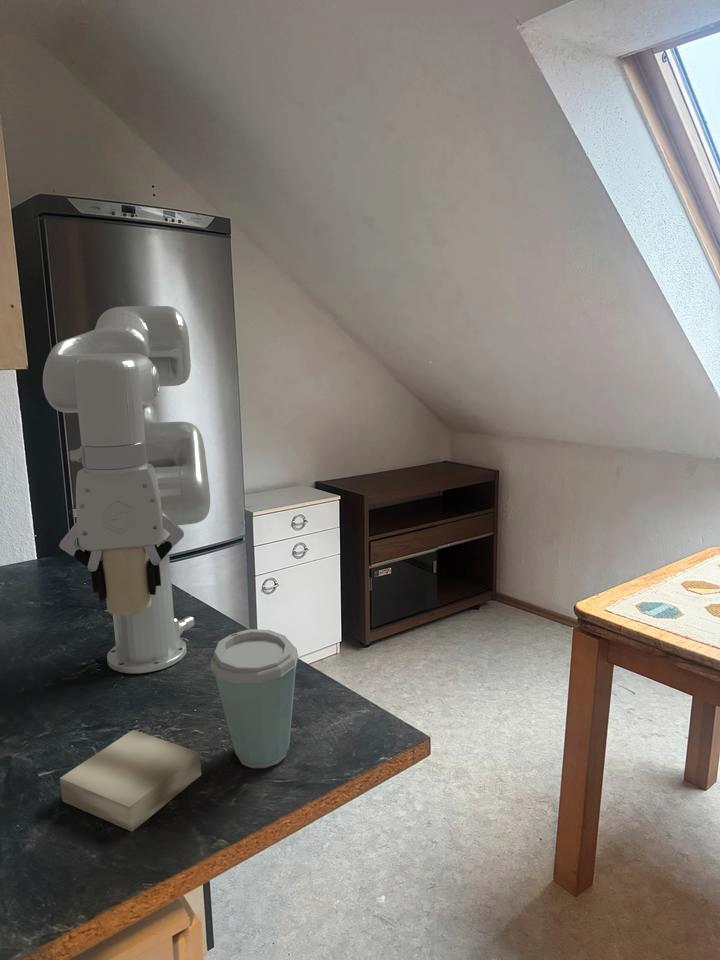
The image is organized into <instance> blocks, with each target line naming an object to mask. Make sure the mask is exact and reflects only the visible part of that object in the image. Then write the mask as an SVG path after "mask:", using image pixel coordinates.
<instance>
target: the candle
mask: <svg viewBox="0 0 720 960" xmlns="http://www.w3.org/2000/svg"><path fill="white" fill-rule="evenodd" d="M101 561H102V564H103V573H104V582H105V592H106V599H105V601H106V609H107V611H108V613H109V614H110V615H112V616H113V615H132V614H137V613H140V612H143V611H145V610H147V609H148V608H150V606H151V594H150V590H149V579H148V568H147V567H148V558H147V553H146V550H145V548H144V547H137V548H123V549H115V550H105V551H102V555H101Z"/></svg>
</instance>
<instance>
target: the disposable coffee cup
mask: <svg viewBox="0 0 720 960" xmlns="http://www.w3.org/2000/svg"><path fill="white" fill-rule="evenodd" d="M298 659H299V653H298V649H297V648H296V646H294V644H293V643H292V642H291V641H290V640H289V638H288V637H286V635H284V634H281V633H279V632H276V631H273V630H271V629H258V628H257V629H256V628H249V629H244V630H241V631H238V632H234V633H231V634H229V635H227V636H226V637H224V638H222V639H220V640H219V641H217V644H216V647H215V650H214V651H213V656H212V657H211V661H210V671H211V672H212V673H213V675H214V678H215V681H216V682H215V683H216V684H217V689H218V692H219V697H220V701H221V705H222V708H223V712H224V717H225V719H226V723H227V726H228V731H229V734H230V740H231V742H232V746H233V750H234V753H235V755H236V757H238V760H239V761H240V763H241V765H243V766H245V767H248V768H251V769H266V768H270V767H272V766H274V765H278V764H279V763H280V762H282V760H284V759H285V758H286V757H287V753H288V751H289V747H290V740H291V739H290V738H291V728H292V716H293V707H294V706H293V705H294V693H295V682H296V672H297V663H298Z"/></svg>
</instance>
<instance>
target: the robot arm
mask: <svg viewBox="0 0 720 960" xmlns="http://www.w3.org/2000/svg"><path fill="white" fill-rule="evenodd" d="M189 335H190V334H189V331H188V326H187V323H186V320H185V318H184V316H183V315H182V313H181V312H180V311H179V310H178V309H176V308H174V307H173V306H168V305H148V306H147V305H144V306H143V305H140V306H139V305H133V306H132V305H131V306H116V307H115V306H114V307H112V308H109V309H107V310H106V311H104V312H103V313H102V314H101V315H100V317H99V318H98V320H97V322H96V325H95V328H94V329H92V330H89V331H87V332H85V333H82V334H78V335H75V336H73V337H69V338H66V339H64V340H61V341H59V342H58V343H56V344H55V345H54V346H53V347H52V349H51V350H50V352H49V354H48V356H47V358H46V361H45V364H44V367H43V374H42V389H43V392H44V396H45V398H46V400H47V402H48V404H49V405H50V406H51V408H53V409H54V410H56V411H58V412H61V413H65V414H68V413H69V414H71V413H74V414H75V413H77V416H78V424H79V432H80V433H79V435H80V444H81V446H80V447H78V448H77V449H74V450H73V449H72V450H69V459H70V462H77V463H80V465H81V464H82V467H83V468H80V469H79V470H78V471H77V475H76V481H75V483H76V485H75V486H76V487H75V507H76V508H75V510H76V512H75V513H76V522H75V523H74V525H72V527H71V529H70V530H69V531H68V532H67V533H66V534H65V535H64V537H63V538H62V539H61V540H60V542H59V544H58V547H59V548H60V550H62V551H64V552H66V553H67V554H69V555H70V556H72V557H74V559H76V560H77V561H78V562H79V563H81V564H82V565H83V566H85V567H87V570H88V571H89V572H90V573H91V574H90V575H91V581H92V582H91V583H92V591H93V593H94V594H95V593H98V601H99V602H103V601H105V600H106V592H105V582H104V573H103V563H102V551H105V550H115V549H123V548H137V547H144V548H145V550H146V553H147V558H148V567H147V568H148V579H149V590H150V594H151V606H150V608H148V609H147V610H145V611H143V612H140V613H137V614H132V615H113V614H112V621H113V628H114V629H113V631H114V639H115V640H114V641H115V645H114V646H113V647H112V648H111V649H110V650H109V652H108V653H107V656H106V659H107V660H106V662H107V665H108V666H109V668H110V669H111V670H114V671H117V672H119V673H124V674H146V673H147V674H148V673H151V672H156V671H160V670H164V669H166V668H169V667H171V666H173V665H175V664H177V663H178V662H180V661H182V659H183V658H184V657H185V656H186V654H187V643H186V641H185V640H183V638H181V635H183V633H184V631H186V630H188V629H191V628H193V627H194V626H195V624H196V623H195V619H194V617H192V616H191V615H190V616H189V615H188V616H186V617H184V618H182V619H181V620H180V621H178V619H177V618H176V617H175V613H174V601H173V600H174V599H173V590H172V589H173V588H172V574H171V560H170V553H169V552H170V551H171V550H172V549H173V547H174V546H176V545H177V544H178V543H179V542H180V541H181V540H182V539H183V538H184V536H185V532H184V530H183V528H181V527H180V526H186V525H193V524H199V523H200V522H203V521H204V520H205V519H206V518H207V517H208V515H209V512H210V509H211V508H210V507H211V492H210V491H211V490H210V482H209V473H208V465H207V457H206V449H205V444H204V439H203V436H202V434H201V431H200V430H199V428H198V427H197V426H196V425H195V424H193V423H191V422H188V421H162V422H159V416H158V412H157V410H156V408H155V406H154V405H153V403H154V401H155V399H156V397H158V396H159V392H160V387H176V386H177V387H178V386H180V385H183V384H185V383H186V382H187V381H188V380H189V377H190V375H191V368H192V367H191V366H192V365H191V350H190V349H191V347H190V337H189ZM164 530H166V532H168V534H169V535H168V536H167V537H166V538H165V539H164V538H163V537H164ZM77 539H78V544H77V542H76V540H77ZM163 539H164V540H163ZM162 540H163V541H162Z"/></svg>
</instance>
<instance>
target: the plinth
mask: <svg viewBox="0 0 720 960" xmlns="http://www.w3.org/2000/svg"><path fill="white" fill-rule="evenodd" d="M201 776H202V766H201V755H200V752H199V751H197V750H194V749H190V748H188V747H185V746H181V745H179V744H176V743H172V742H169V741H167V740H164V739H162V738H159V737H155V736H153V735H149V734H147V733H144V732H141V731H137V730H135V729H132V730H131V731H129V732H127V733H126V734H124V735H123V736H122V737H120V738H119V739H117V740H116V741H113V742H112V743H111V744H109V745H108V746H106V747H105V748H103V749H101V750H100V751H99V752H97V753H96V754H94V755H92V756H91V757H89V758H87V760H85V761H83V762H82V763H80V764H78V765H77V766H76V767H74V768H73V769H71V770H69V771H68V772H67V773H65V774H63V776H60V777H59V782H60V783H59V784H60V792H61V798H62V802H64V803H65V804H68V805H70V806H73V807H75V808H77V809H79V810H81V811H83V812H85V813H89V814H90V815H93V816H95V817H97V818H99V819H102V820H104V821H106V822H109V823H111V824H114V825H115V826H117V827H121V828H122V829H125V830H127V831H129V832H132V833H133V832H134V831H135V830H137V828H139V827H141V825H142V824H143V823H145V822H146V821H148V820H149V818H151V817H152V816H153V815H154V814H156V813H157V812H158V811H160V810H161V809H162V808H163V807H164V806H165V805H166V804H168V803H169V802H171V800H173V799H174V798H175V797H176V796H177V795H179V794H180V793H181V792H182V791H184V790H185V789H186V788H187V787H189V785H191V784H192V783H193V782H195V781H196V780H197V779H199V777H201Z"/></svg>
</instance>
